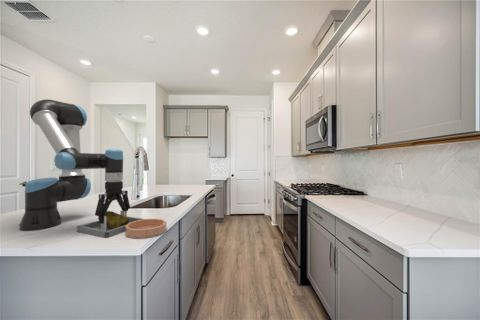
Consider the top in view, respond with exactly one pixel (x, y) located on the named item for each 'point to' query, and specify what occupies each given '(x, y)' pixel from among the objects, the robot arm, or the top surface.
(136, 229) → the bowl
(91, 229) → the tray
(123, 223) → the pear
